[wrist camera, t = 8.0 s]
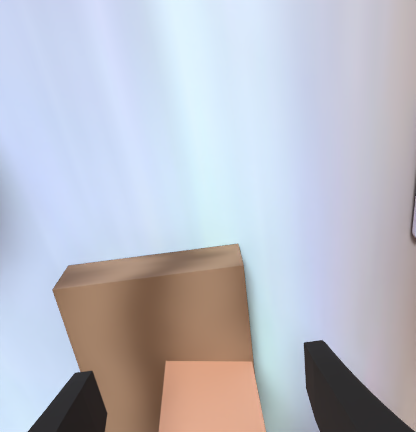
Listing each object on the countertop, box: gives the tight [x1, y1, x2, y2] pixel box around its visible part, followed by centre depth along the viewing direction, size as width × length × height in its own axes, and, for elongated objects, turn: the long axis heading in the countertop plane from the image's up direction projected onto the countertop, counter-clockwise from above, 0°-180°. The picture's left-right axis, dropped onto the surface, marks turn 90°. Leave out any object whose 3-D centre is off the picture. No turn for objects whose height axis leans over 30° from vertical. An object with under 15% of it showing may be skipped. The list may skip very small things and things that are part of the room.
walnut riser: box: [53, 244, 255, 432], centre depth 22 cm, size 10×14×2 cm
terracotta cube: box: [159, 361, 266, 432], centre depth 19 cm, size 5×5×5 cm
